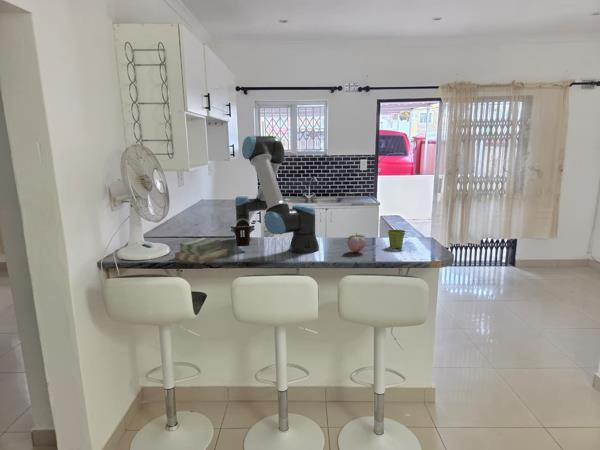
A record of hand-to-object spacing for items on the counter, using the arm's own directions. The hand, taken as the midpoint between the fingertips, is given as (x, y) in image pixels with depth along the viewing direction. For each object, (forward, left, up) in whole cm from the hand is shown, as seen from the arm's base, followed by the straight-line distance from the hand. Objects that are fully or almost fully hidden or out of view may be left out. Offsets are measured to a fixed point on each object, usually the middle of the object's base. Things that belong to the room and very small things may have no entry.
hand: (242, 234), depth 196 cm
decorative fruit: (-49, -29, -10) cm, 58 cm away
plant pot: (-63, -49, -10) cm, 80 cm away
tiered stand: (+15, +14, -10) cm, 23 cm away
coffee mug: (+3, -3, -7) cm, 8 cm away
